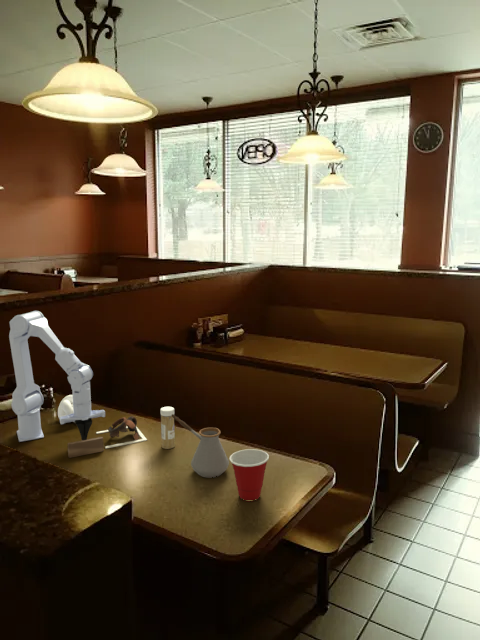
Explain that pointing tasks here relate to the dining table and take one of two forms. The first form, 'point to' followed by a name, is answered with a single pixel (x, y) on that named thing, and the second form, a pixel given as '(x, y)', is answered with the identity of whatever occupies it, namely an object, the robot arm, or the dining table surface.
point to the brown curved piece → (124, 427)
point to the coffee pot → (207, 452)
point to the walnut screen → (85, 447)
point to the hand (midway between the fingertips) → (84, 439)
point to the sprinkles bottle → (167, 427)
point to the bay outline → (125, 442)
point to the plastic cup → (249, 472)
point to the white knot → (66, 406)
